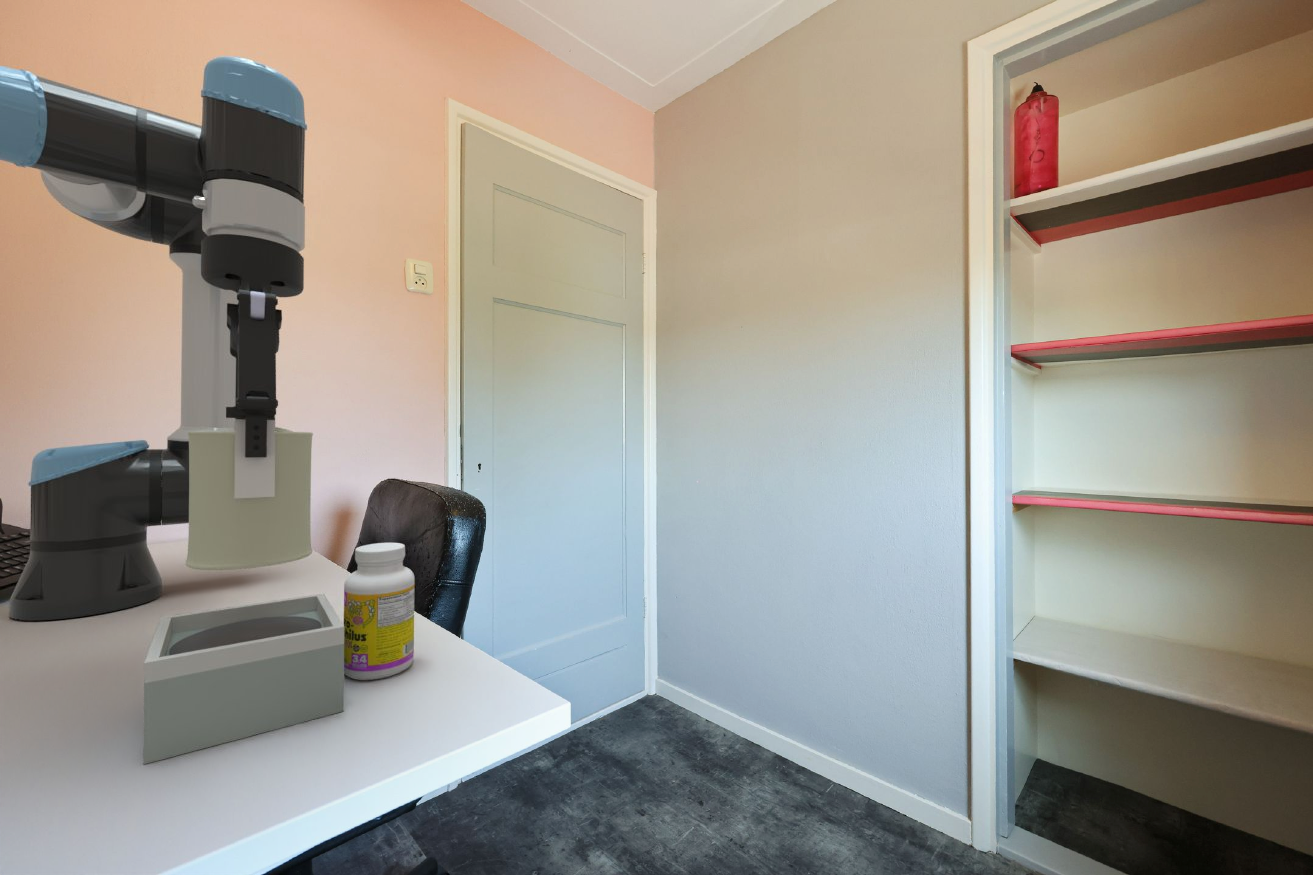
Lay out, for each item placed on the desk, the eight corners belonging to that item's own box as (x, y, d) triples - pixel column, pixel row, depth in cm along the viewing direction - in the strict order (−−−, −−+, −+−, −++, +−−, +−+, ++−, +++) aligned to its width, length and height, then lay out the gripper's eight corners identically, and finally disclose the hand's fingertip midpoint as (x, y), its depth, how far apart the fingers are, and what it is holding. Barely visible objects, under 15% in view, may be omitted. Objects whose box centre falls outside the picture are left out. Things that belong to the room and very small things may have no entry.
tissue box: (160, 697, 51) (161, 616, 51) (323, 662, 59) (323, 593, 59) (143, 764, 40) (144, 662, 40) (343, 711, 48) (344, 626, 48)
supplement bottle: (333, 668, 57) (334, 546, 57) (398, 651, 62) (399, 538, 62) (356, 689, 53) (357, 556, 53) (424, 668, 57) (425, 546, 58)
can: (246, 573, 44) (248, 425, 44) (156, 567, 46) (157, 425, 46) (335, 550, 53) (336, 427, 53) (256, 546, 55) (258, 427, 55)
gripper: (205, 266, 56) (202, 485, 56) (195, 191, 39) (192, 507, 39) (292, 280, 61) (290, 482, 60) (318, 218, 43) (316, 501, 43)
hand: (252, 492), depth 50 cm, fingers closed on can, 9 cm apart
